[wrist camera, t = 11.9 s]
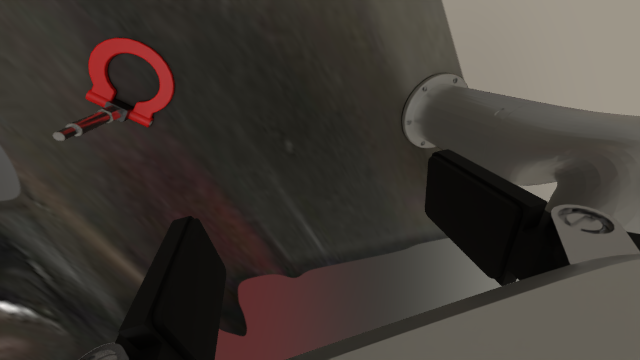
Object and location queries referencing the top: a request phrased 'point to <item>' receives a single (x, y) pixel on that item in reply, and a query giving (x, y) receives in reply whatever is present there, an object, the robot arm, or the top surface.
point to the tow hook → (106, 92)
